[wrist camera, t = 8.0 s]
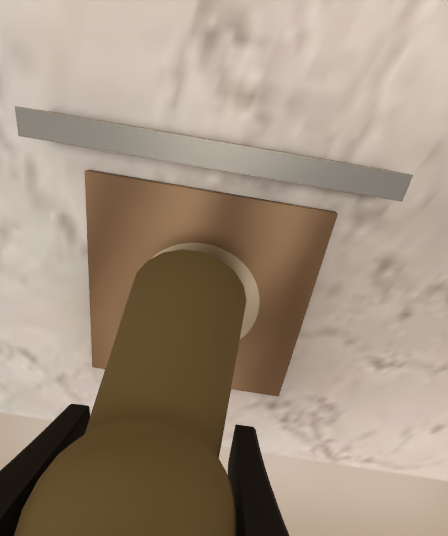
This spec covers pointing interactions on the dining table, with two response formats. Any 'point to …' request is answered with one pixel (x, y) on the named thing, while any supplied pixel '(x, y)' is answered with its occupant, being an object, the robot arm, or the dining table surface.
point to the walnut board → (212, 243)
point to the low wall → (211, 154)
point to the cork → (154, 415)
